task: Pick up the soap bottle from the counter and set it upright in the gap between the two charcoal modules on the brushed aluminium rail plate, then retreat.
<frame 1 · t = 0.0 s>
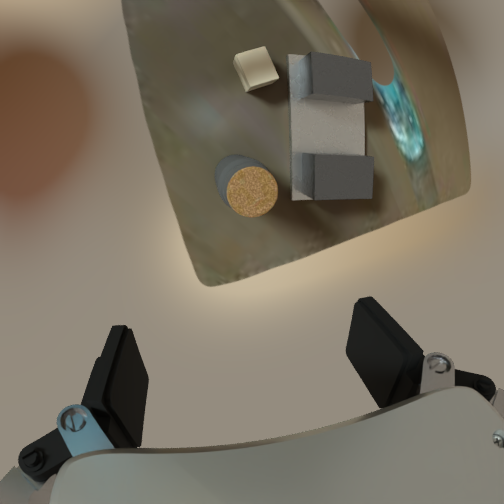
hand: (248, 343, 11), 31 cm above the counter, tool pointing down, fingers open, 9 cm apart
bottle: (235, 174, 39), on the counter
loose block: (252, 72, 34), on the counter
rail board: (327, 127, 38), on the counter
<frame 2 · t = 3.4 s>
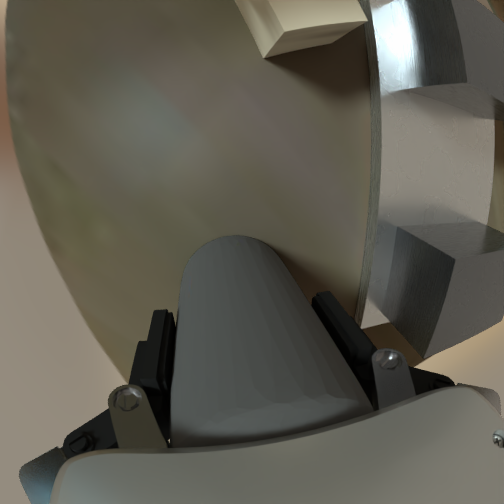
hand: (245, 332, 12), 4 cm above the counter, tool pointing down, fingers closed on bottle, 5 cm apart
bottle: (233, 282, 16), on the counter, touching gripper
loose block: (279, 13, 11), on the counter
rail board: (440, 162, 15), on the counter
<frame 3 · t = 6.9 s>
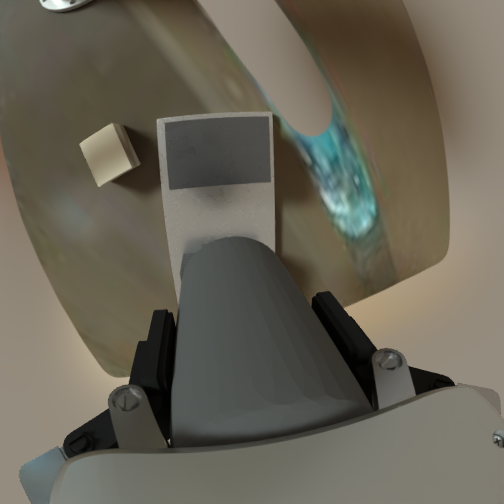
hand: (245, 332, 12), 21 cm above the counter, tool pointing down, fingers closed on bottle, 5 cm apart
bottle: (233, 283, 16), point 17 cm above the counter, touching gripper
loose block: (116, 153, 27), on the counter
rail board: (219, 213, 31), on the counter
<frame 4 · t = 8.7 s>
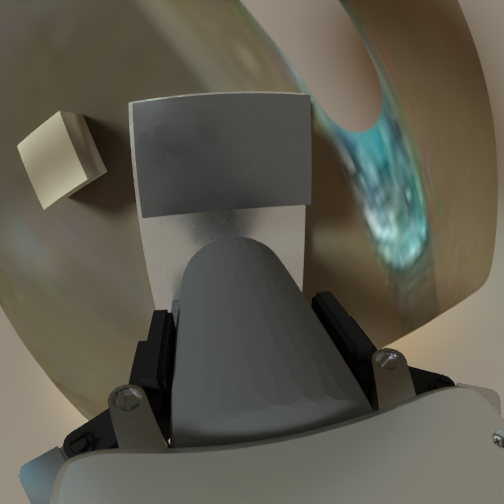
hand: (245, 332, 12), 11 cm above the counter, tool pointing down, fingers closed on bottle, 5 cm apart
bottle: (233, 283, 16), point 6 cm above the counter, touching gripper
loose block: (74, 156, 17), on the counter
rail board: (224, 242, 21), on the counter
when the fingers open (7 cm above the counter, at t = 10.4 s): bottle drops 1 cm, resting on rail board.
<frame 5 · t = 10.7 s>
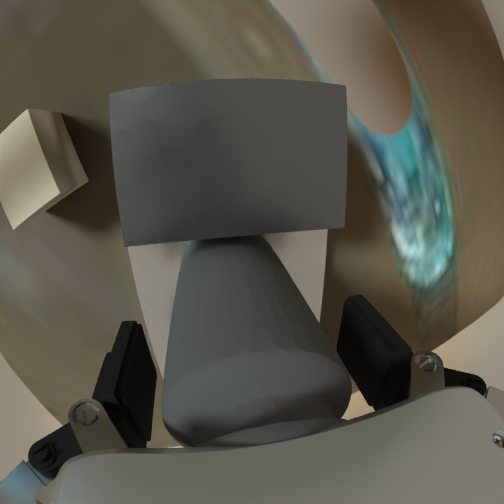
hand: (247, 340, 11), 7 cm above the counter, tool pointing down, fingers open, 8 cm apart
bottle: (228, 269, 17), point 1 cm above the counter, touching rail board
loose block: (51, 162, 14), on the counter
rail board: (230, 266, 18), on the counter
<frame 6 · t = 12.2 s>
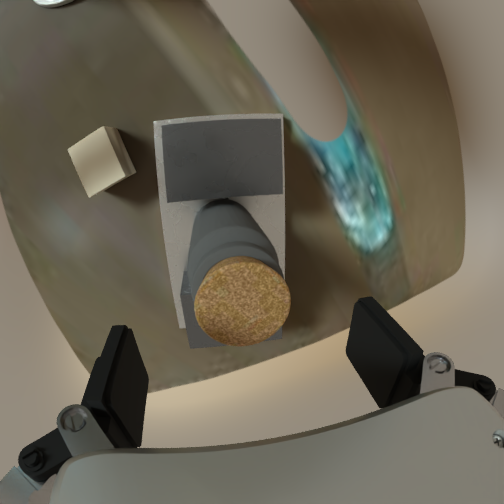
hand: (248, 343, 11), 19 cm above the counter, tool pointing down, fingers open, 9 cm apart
bottle: (222, 227, 27), point 1 cm above the counter, touching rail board
loose block: (109, 159, 24), on the counter
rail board: (224, 226, 28), on the counter
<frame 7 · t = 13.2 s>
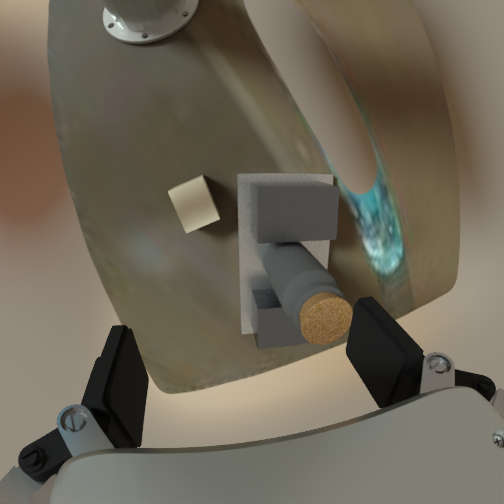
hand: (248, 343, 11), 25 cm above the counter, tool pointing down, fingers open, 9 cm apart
bottle: (284, 258, 37), point 1 cm above the counter, touching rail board
loose block: (195, 199, 33), on the counter
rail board: (283, 257, 37), on the counter
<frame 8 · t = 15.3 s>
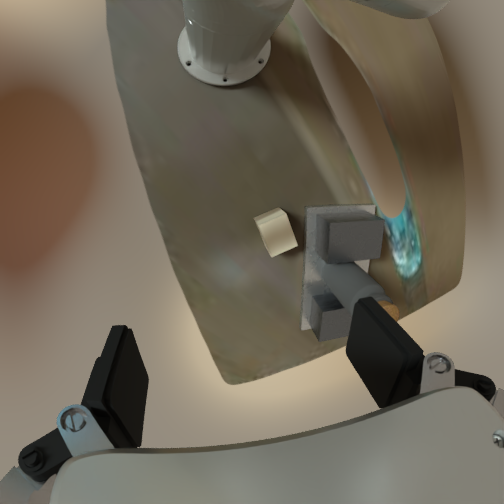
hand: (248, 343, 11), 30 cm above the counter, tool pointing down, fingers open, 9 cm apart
bottle: (337, 270, 45), point 1 cm above the counter, touching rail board
loose block: (272, 227, 42), on the counter
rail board: (336, 268, 46), on the counter
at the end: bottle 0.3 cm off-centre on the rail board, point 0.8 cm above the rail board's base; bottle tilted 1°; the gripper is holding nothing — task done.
